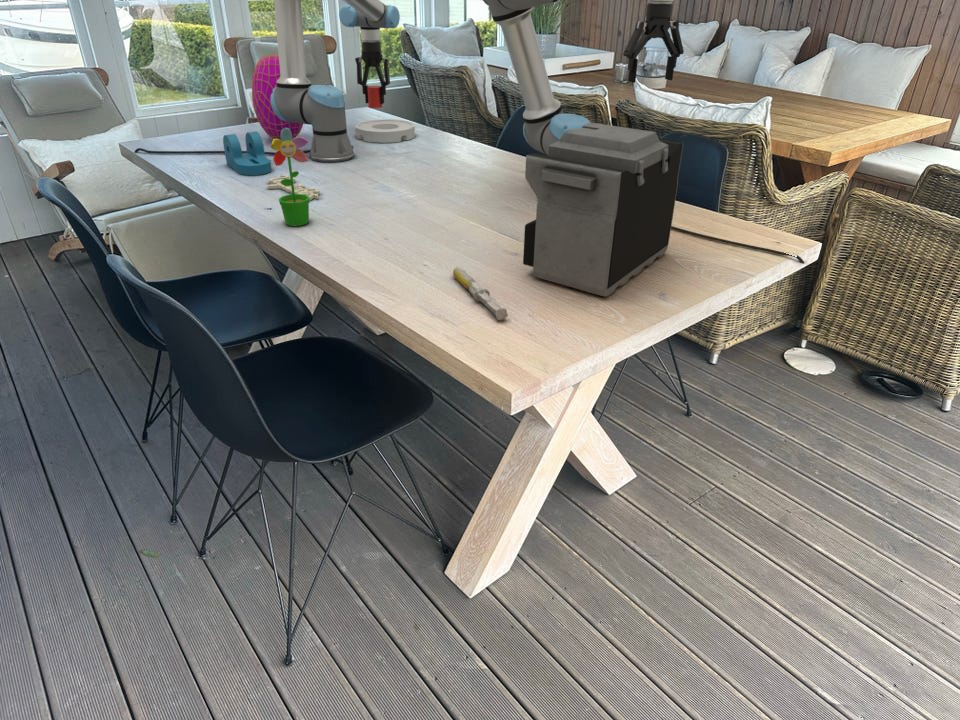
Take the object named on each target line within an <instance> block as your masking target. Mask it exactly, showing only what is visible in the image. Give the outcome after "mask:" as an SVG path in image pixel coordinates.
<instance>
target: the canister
mask: <svg viewBox="0 0 960 720" xmlns="http://www.w3.org/2000/svg"><path fill="white" fill-rule="evenodd" d="M380 87H381V85H368V86H367V93H368V103H367V104H368V106H367V107H368V108H370V109H380V108H383V104H381V101H380Z"/></svg>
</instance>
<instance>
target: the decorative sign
mask: <svg viewBox="0 0 960 720" xmlns="http://www.w3.org/2000/svg"><path fill="white" fill-rule="evenodd" d="M283 179H290V175H286V174H280V176H279V177H272V178H269V179H268V183H269V184H267V189H268V190H276V189H280V190H283V191H285V192H286V193H290V194H292V188H291V186H284V185H282V184H281V181H282V180H283ZM293 183H294V191H295V194H304V195H307V196H309V201H312V200H314V199H315V200H318V199H319V195H320V194H321V192H320V190H319V189H317V190H316V188H315V187H309V188H307V187H306V186H305V184H300V183H296V177H294V178H293ZM295 183H296V184H295Z"/></svg>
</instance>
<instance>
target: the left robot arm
mask: <svg viewBox="0 0 960 720" xmlns="http://www.w3.org/2000/svg"><path fill="white" fill-rule="evenodd" d="M342 1H344V2H345V3H346V4H344V5H342V6H341V7H340V9H339V10H338V17H339V21H340V23H341V24H342V26H345V27H347V28H354V27H356V28H357V27H360V28H359V29H360V40H361V55H360V56H357V57H355V59H354V60H355V64H356V81H357V82H356V83H357V84H358V85H360V86H361V87H362V95H364V98H365V100H364V101H365V104H368V93H367V86H369V85H367V84H368V79H369V73H370V69H371V67H372V68H374V69H375V70H376V73H377V74H376V75H377V77H378V80H379V84H380V86H381V87H380V101H381V104H382V105H384V104H385V96H386V95H387V86H389V85H391V79H390V69H389V67H390V66H389V63H390V58H389V57H384V56H383V54H382V43H381V29H386V30H388V29H395V28H397V27H399V24H400V19H401V14H400V11H399V9H398V7H397V6H395V5H391V4H388V5H387V4H385V3H384V2H382V1H381V0H342ZM273 4H274V15H275V27H276V38H277V51H278V52H277V53H278V55H279V64H280V78H279V79H278V80H277V82H276V83H277V87H275V88H274V89H273V91H272V92H273V93H272V94H271V106H272V109H273V111H274V113H275V114H276V116H278V118H279V119H281V120H283V121H287V122H290V123H301V124H303V125H311V127H312V141H311V144H310V149H307V150H301V151H302V152H304V153H305V154H309V158H310V160H312V161H315V162H319V163H342V162H346V161H349V160H352V159H354V158H355V152H354V146H353V145H352V143H351V141H350V138H349V135H348V130H347V116H346V102H345V97H344V96H345V95H344V92H343V91H342V90H341V89H340V88H338V87H336V86H332V85H328V84H327V85H323V84H312V82H311V80H310V79H309V78H308V77H307V70H306V55H305V54H306V53H305V39H304V38H305V37H304V23H303V11H302V9H303V8H302V0H273ZM363 62H364V71H363V66H362V65H363V64H362V63H363ZM381 63H382V64H383V71H382V67H381ZM140 151H141V152H144V153H147V154H158V155H159V154H167V155H169V154H170V155H171V154H173V155H175V154H176V155H177V154H181V155H187V154H190V155H191V154H193V155H194V154H198V155H199V154H200V155H201V154H225V150H148V149H145V148H143V147H138V148H136V149H135V150H134V152H133V153H135V154H137V153H138V152H140ZM264 152H265V155H271V156H272V155H273V156H274V155H275V153H276V152H277V151H275V152H274V151H264ZM242 153H247V150H242Z"/></svg>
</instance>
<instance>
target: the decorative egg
mask: <svg viewBox="0 0 960 720" xmlns="http://www.w3.org/2000/svg"><path fill="white" fill-rule="evenodd" d="M253 70H254V71H253V73H252V77H251V101H252V107H253V110H254V114H255V116H256V118H257V121H258V123H259V125H260V127H261V128H262V130H263V131H264V133H266V135H267V136H268V137H270V138H271V139H272V140H273V139H279V140H281V136H280V134H281V131H282V130H283V129H284V128H288V129H289V130H290V131H291V134H292V139H293V138H295V137H298V136H299V134H301V131H302V129H303V127H304V124H301V123H290V122H287V121H283V120H281V119H279V118H278V116H276V114H275V113H274V111H273V109H272V106H271V94H272V93H273V92H272V91H273V89H274V88H275V87H277V83H276V82H277V80H278V79H279V78H280V64H279V54H268V55H265V56H262V57H261V58H260V59H259V60H258V61H257V62H256V65H255V68H254V69H253ZM281 141H282V140H281Z"/></svg>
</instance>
